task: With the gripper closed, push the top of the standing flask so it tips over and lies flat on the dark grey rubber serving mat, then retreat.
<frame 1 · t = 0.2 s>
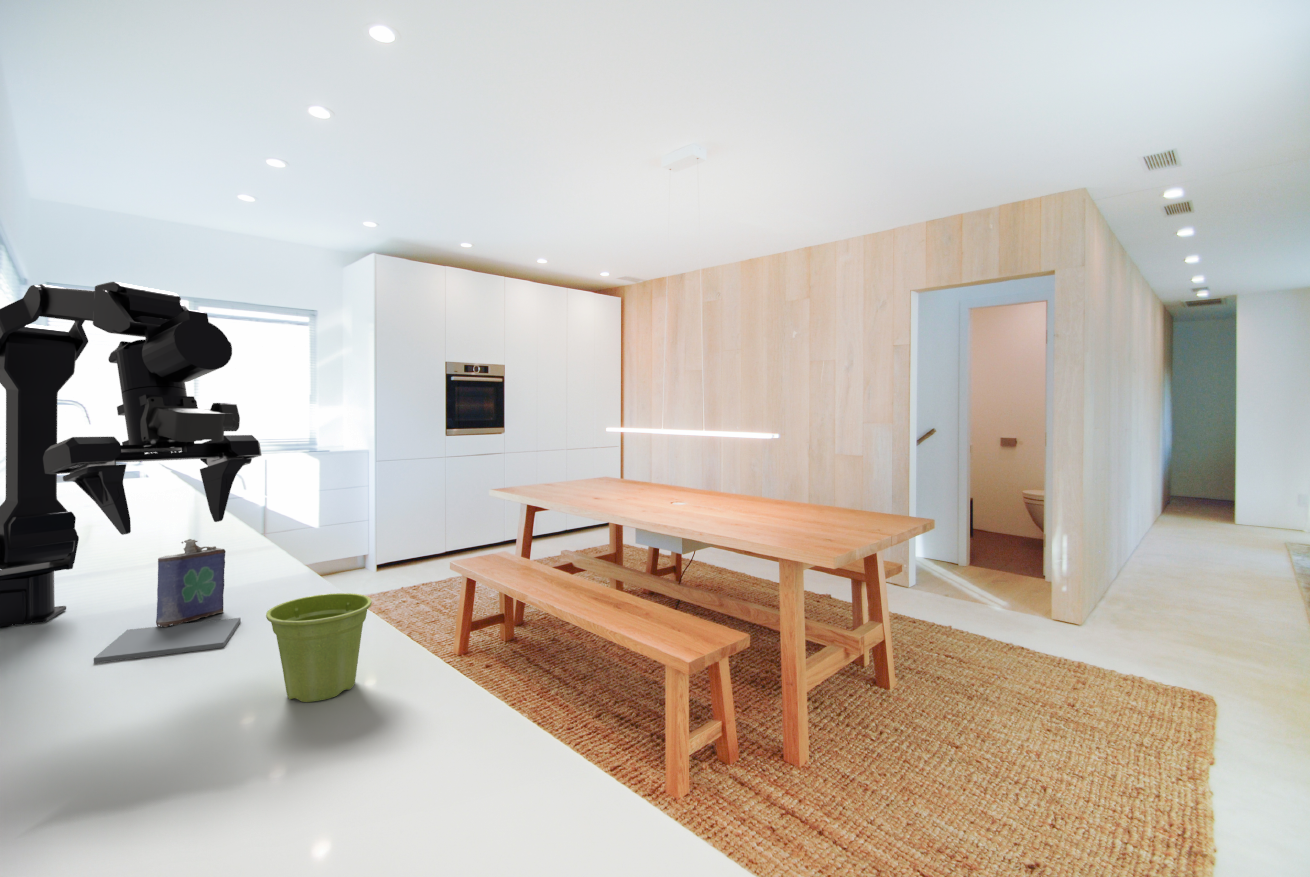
hand: (175, 527, 67), 15 cm above the counter, tool pointing down, fingers open, 9 cm apart
serving mat: (174, 640, 74), on the counter
plant pot: (320, 691, 61), on the counter
flask: (191, 620, 81), on the counter, touching serving mat
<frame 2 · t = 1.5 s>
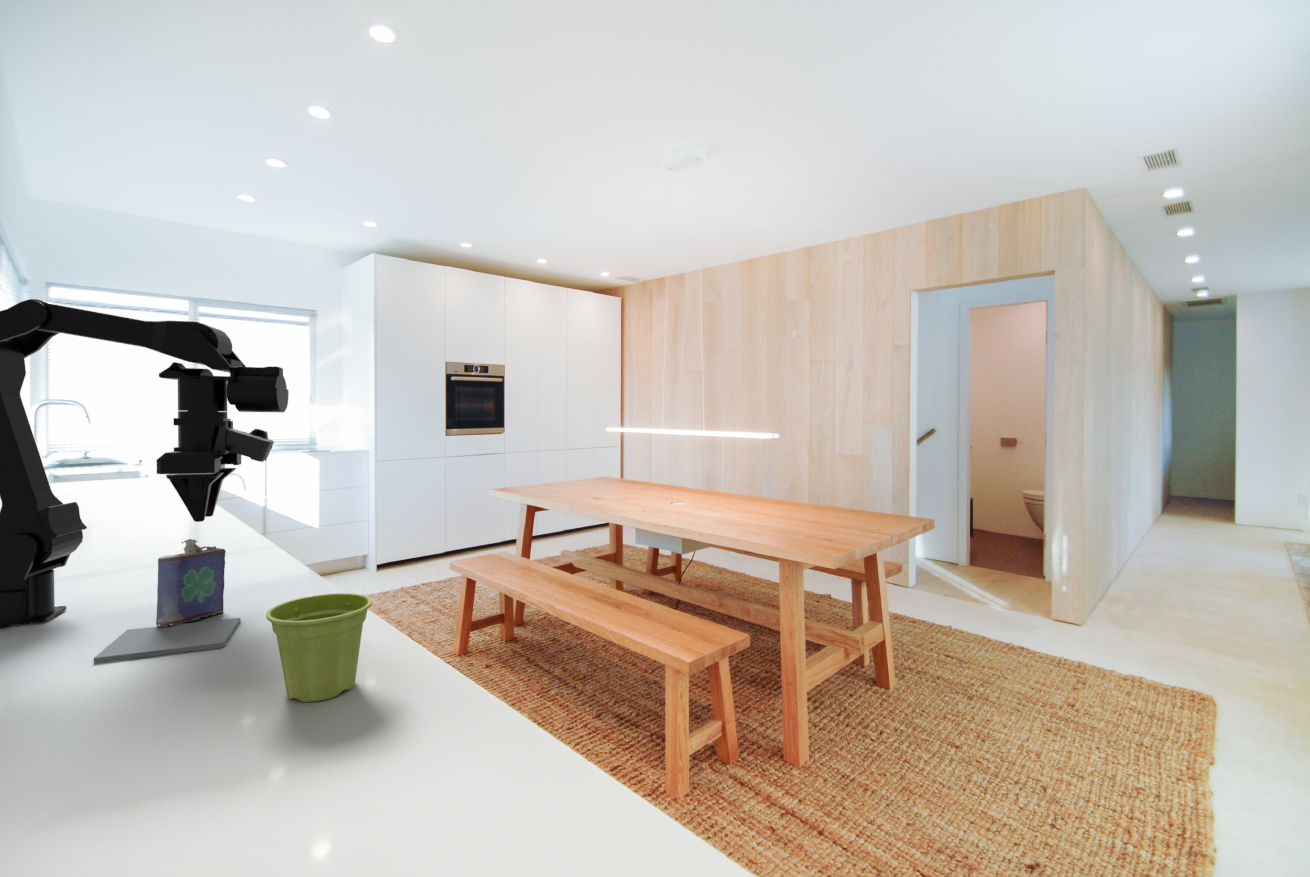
hand: (203, 518, 87), 13 cm above the counter, tool pointing down, fingers open, 5 cm apart
nothing on the counter moved.
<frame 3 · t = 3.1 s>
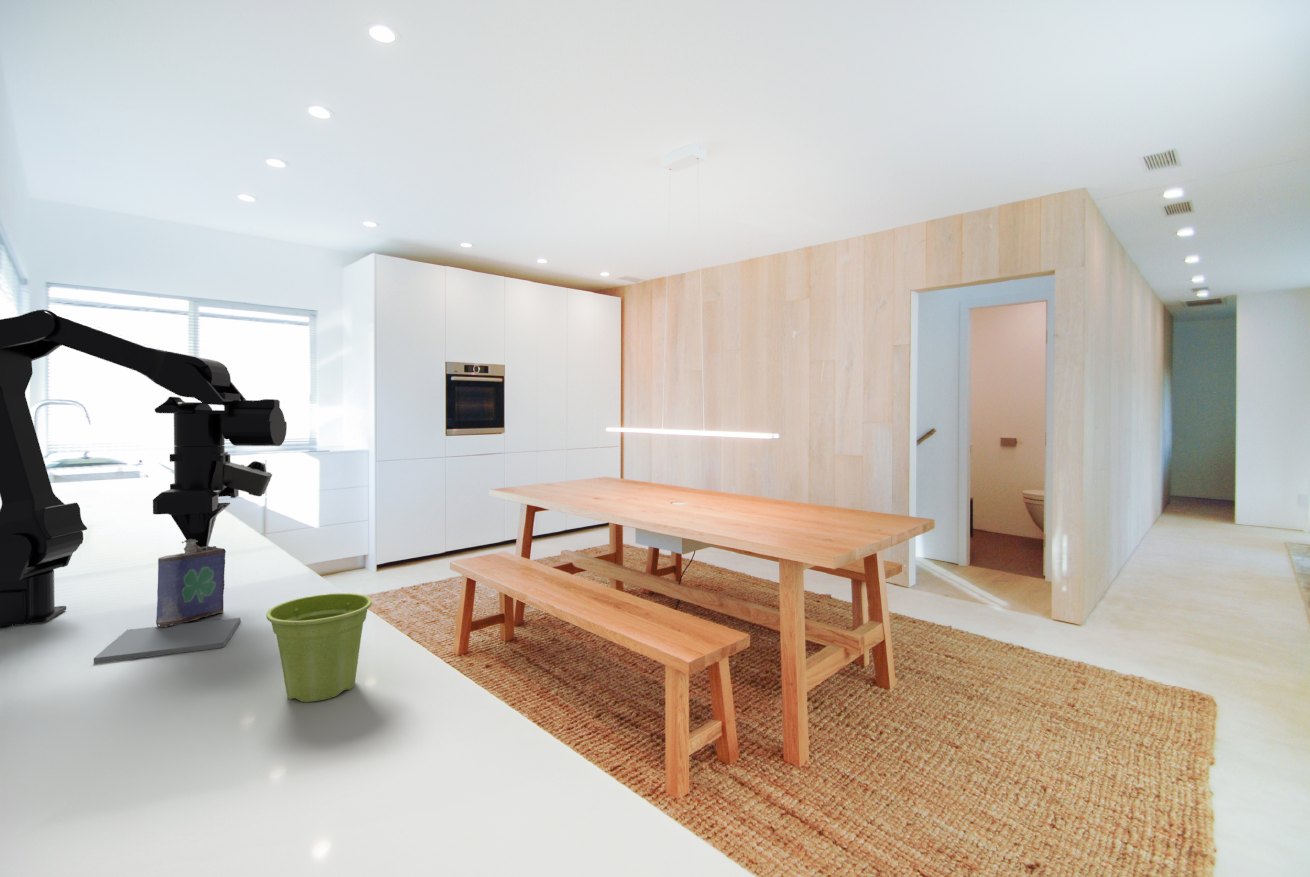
hand: (200, 555, 85), 8 cm above the counter, tool pointing down, fingers closed
flask: (191, 620, 81), on the counter, touching gripper, serving mat
everything else where it was.
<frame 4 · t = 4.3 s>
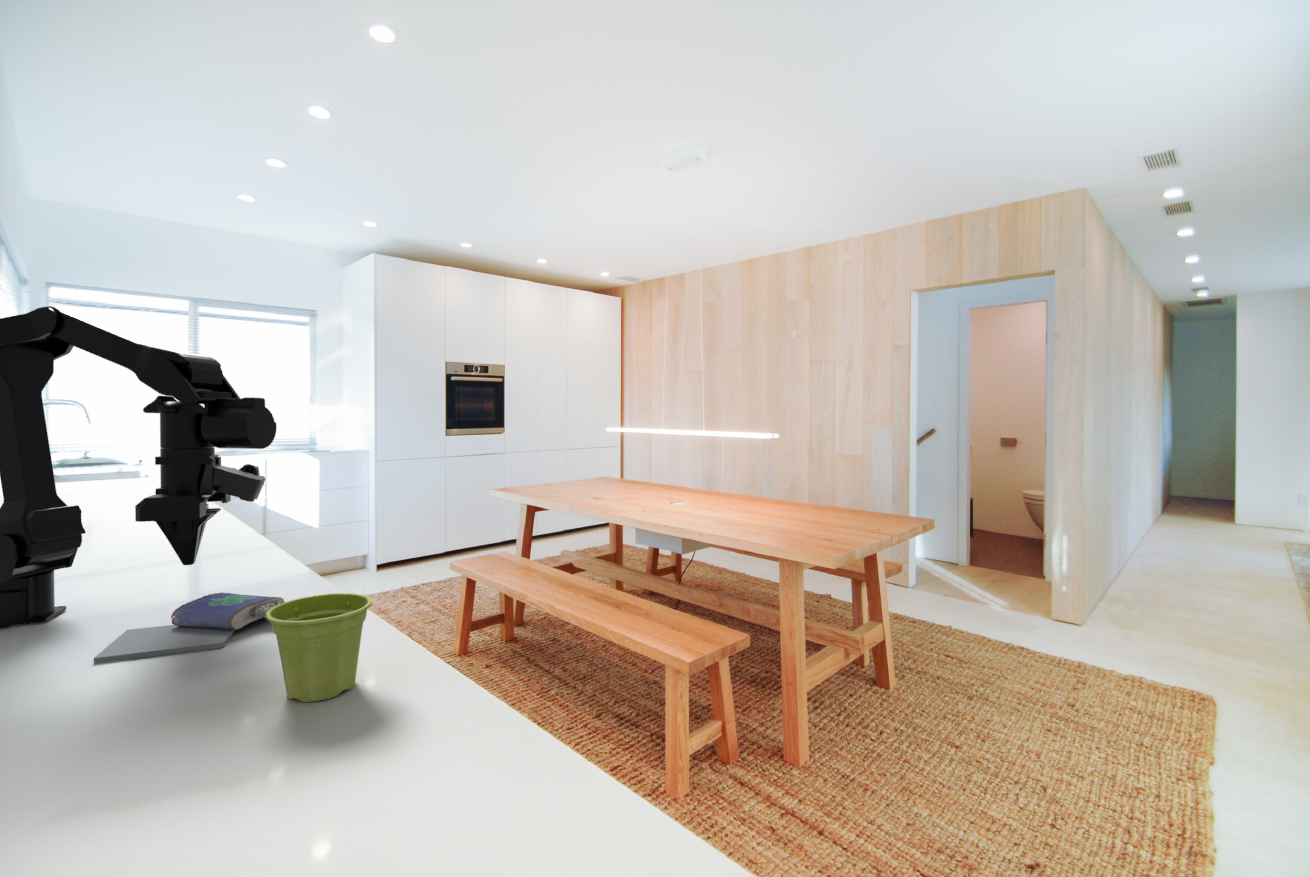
hand: (189, 564, 80), 8 cm above the counter, tool pointing down, fingers closed
flask: (200, 607, 81), point 2 cm above the counter, touching serving mat
everything else where it was.
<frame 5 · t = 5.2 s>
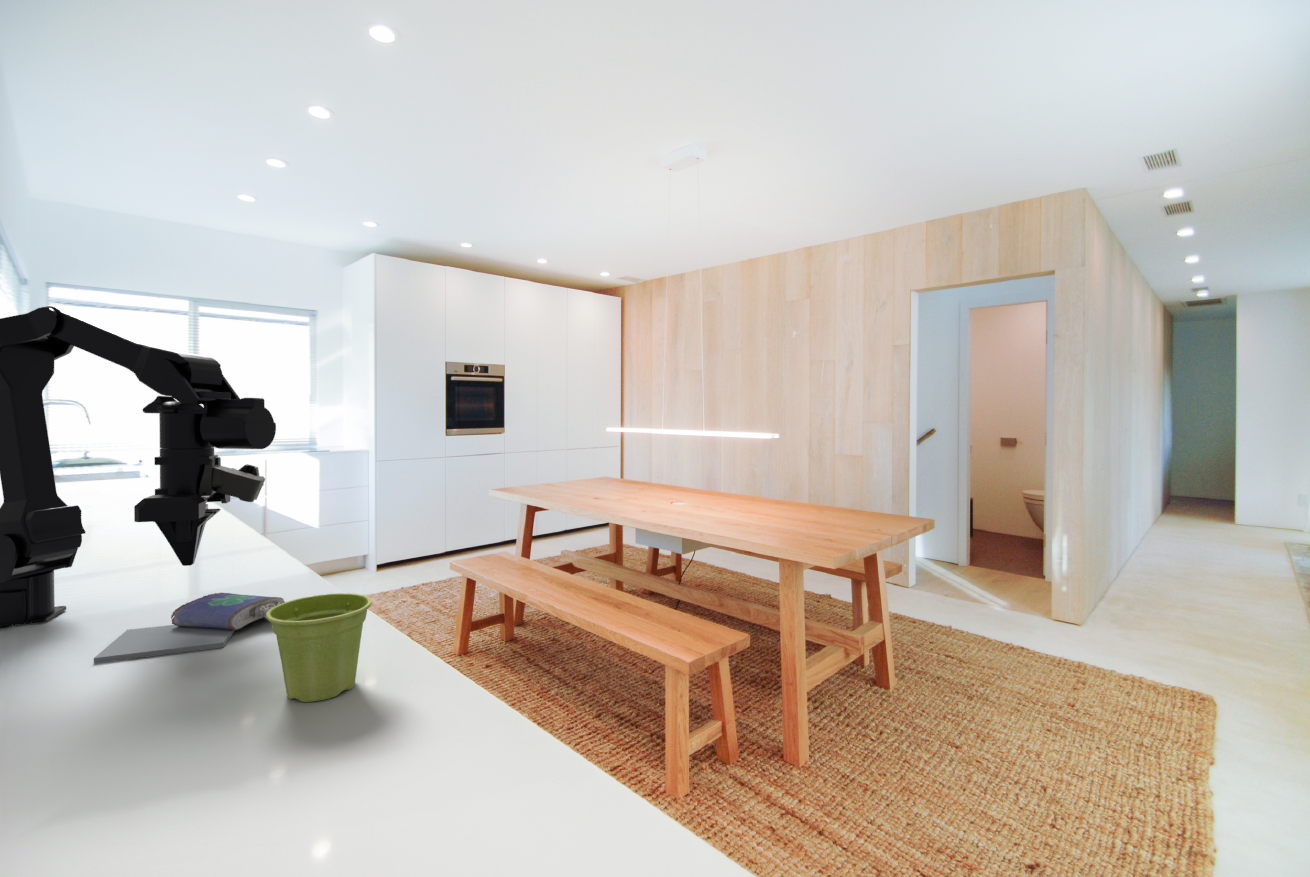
hand: (188, 565, 79), 8 cm above the counter, tool pointing down, fingers closed
nothing on the counter moved.
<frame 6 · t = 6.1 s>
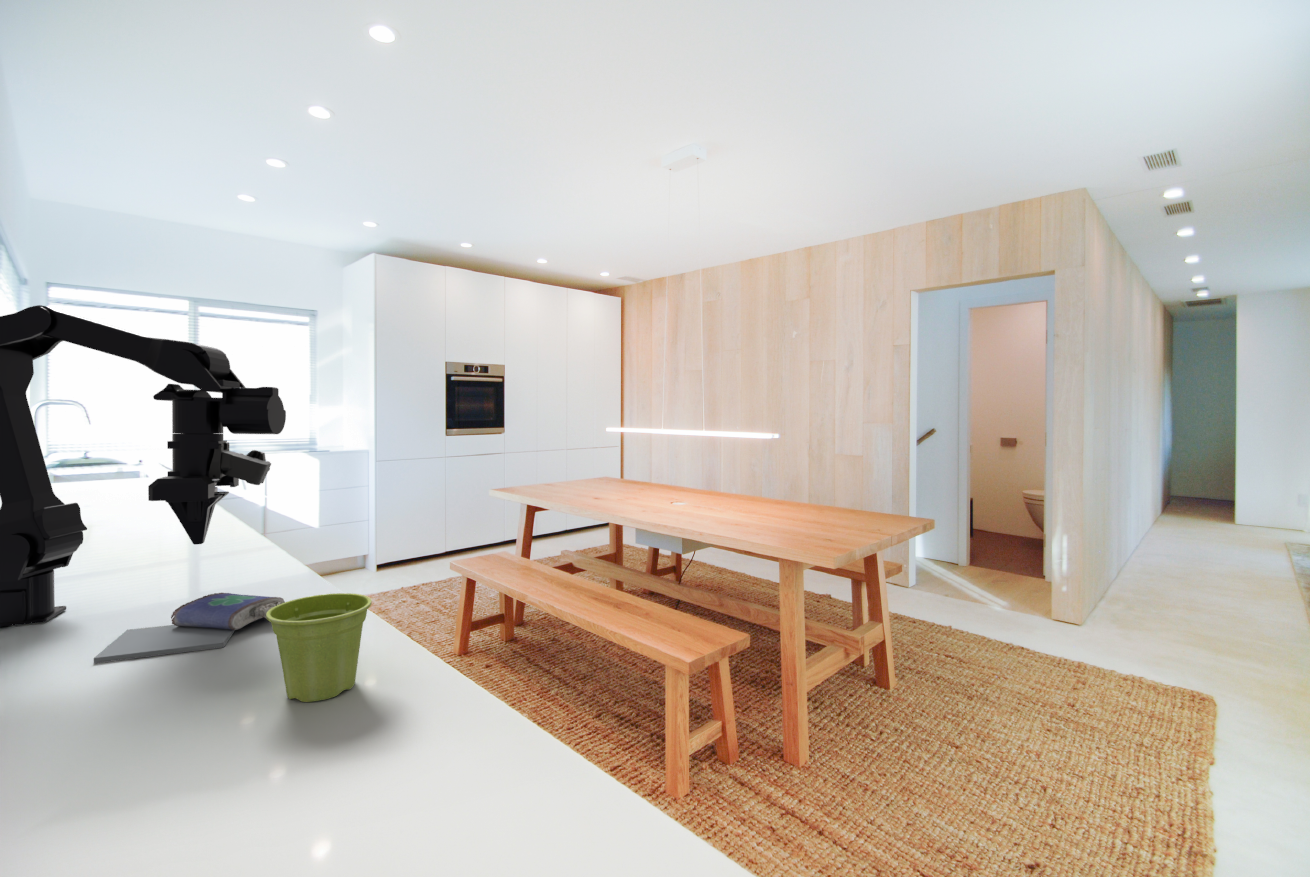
hand: (198, 543, 84), 10 cm above the counter, tool pointing down, fingers closed
nothing on the counter moved.
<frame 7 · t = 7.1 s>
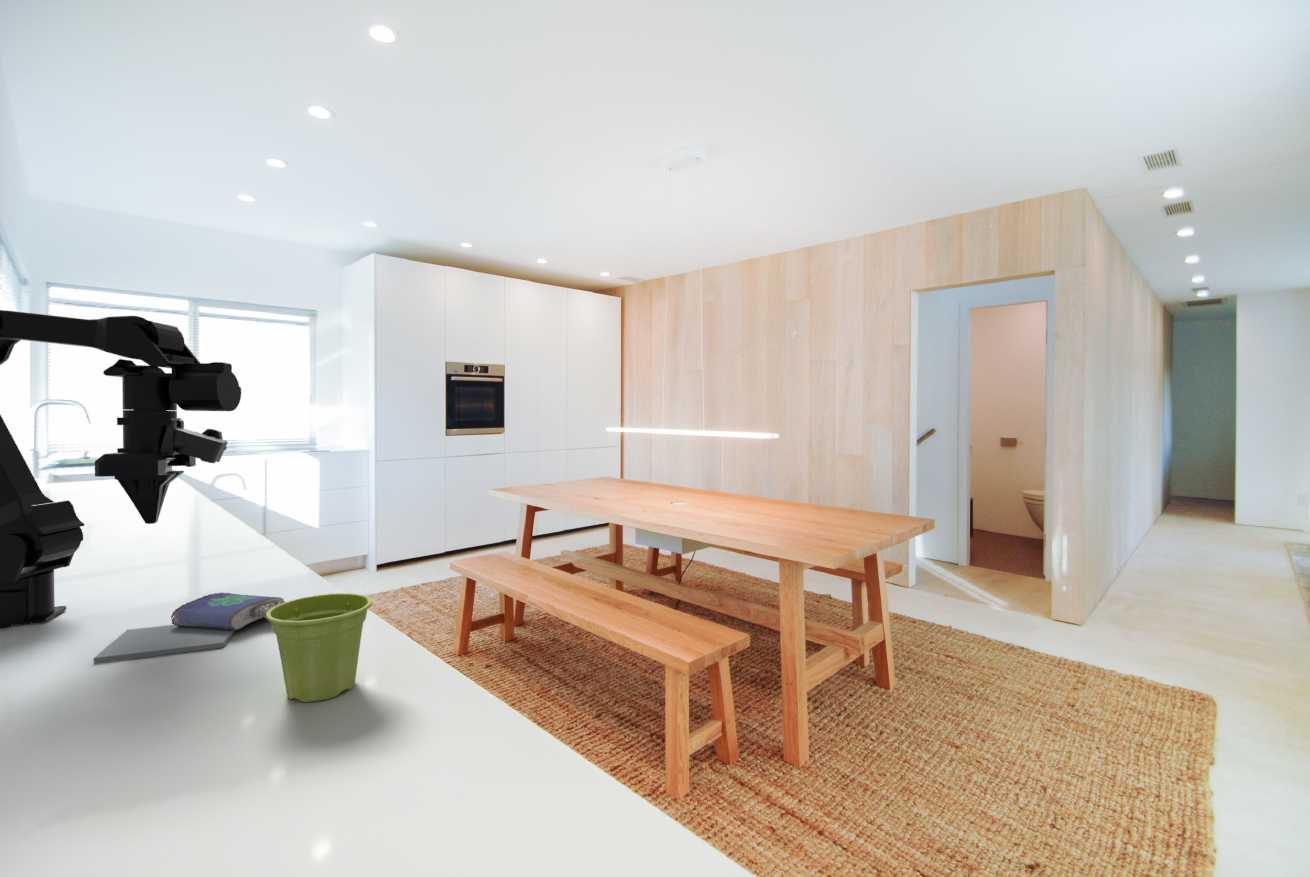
hand: (151, 523, 82), 13 cm above the counter, tool pointing down, fingers closed
nothing on the counter moved.
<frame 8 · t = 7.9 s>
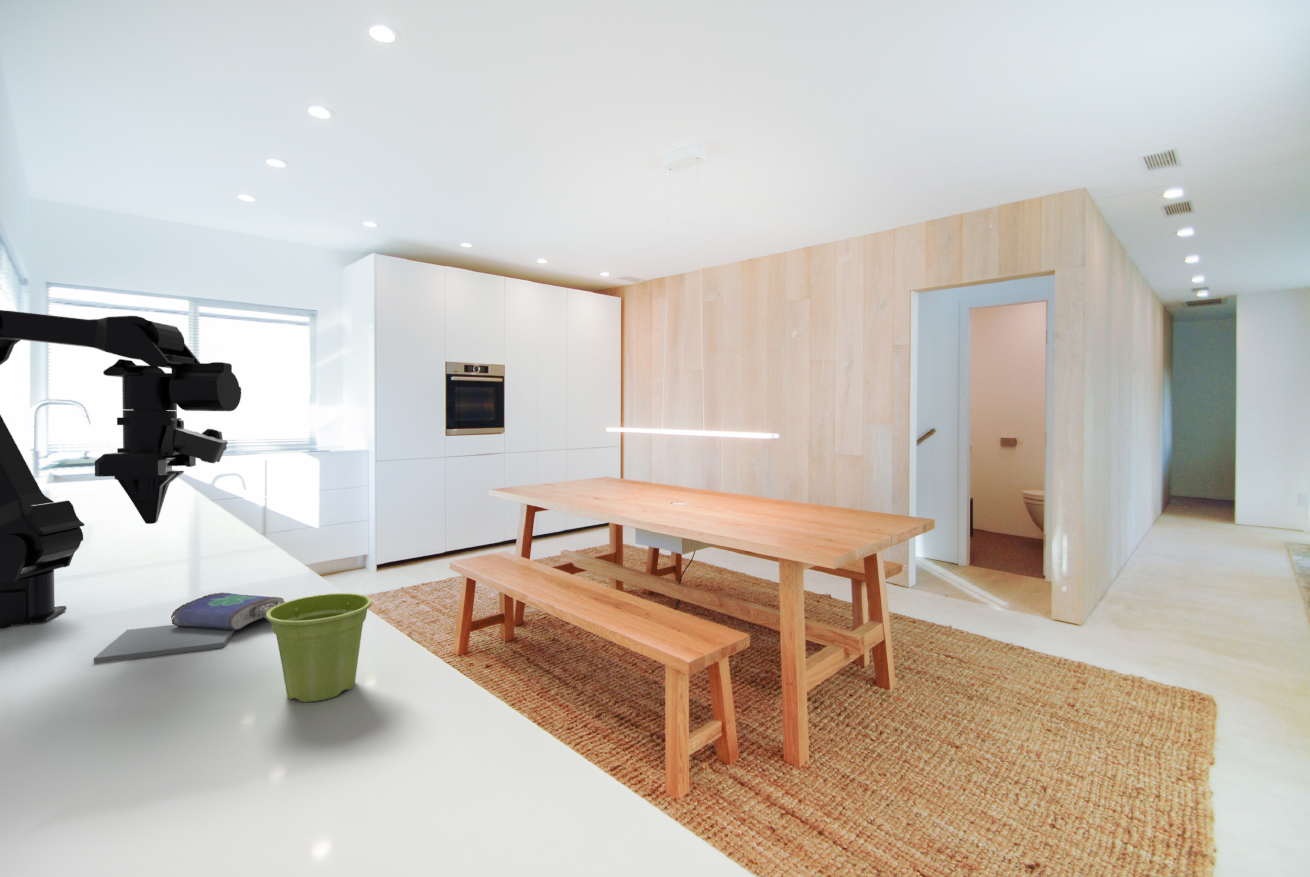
hand: (151, 523, 82), 13 cm above the counter, tool pointing down, fingers closed
nothing on the counter moved.
at the end: flask tilted 90°; flask touching serving mat; flask point 1.9 cm above the counter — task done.
